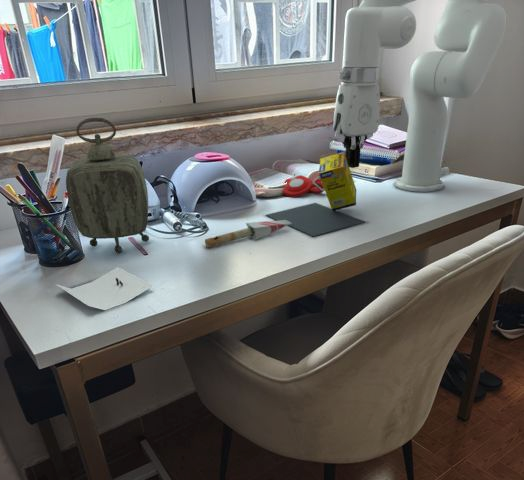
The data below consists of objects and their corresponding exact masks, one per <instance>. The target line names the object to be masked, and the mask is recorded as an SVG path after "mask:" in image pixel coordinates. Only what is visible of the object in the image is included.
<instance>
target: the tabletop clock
mask: <svg viewBox="0 0 524 480" xmlns="http://www.w3.org/2000/svg"><path fill="white" fill-rule="evenodd" d="M97 122H98V123H104V124H107V125H108V126H110V127H111V128H112V130H113V132H112V133H111V135H109V136H107V137H101V135H100V134H98V133H95V134H94V138H89V137H85V136H84V135H81V133H80V129H81V127H82V126H84V125H85V124H88V123H97ZM116 133H117V129H116V126H115V124H114V123H113V122H111V121H110V120H108V119H106V118H104V117H88V118H84V119H83V120H81V121H79V123H78V124H77V126H76V135H77V136H78V137H79V138H80V139H81V140H82V141H84V142H87V143H89V144H90V143H91V144H92V145H91V146H90V148H89V149H88V150H87V156H85V157H84V156H83V157H81V158H78V159H76V160H75V161H73V162H72V163H71V164H70V167H69V168H68V169H67V172H66V175H65V176H66V177H65V190H66V196H67V202H68V206H69V210H70V213H71V216H72V219H73V222H74V224H75V226H76V228H77V230H78V231H79V233H80V234H81V235H82V237H85V238H88V239H90V240H89V246H91V247H92V248H95V247H97V246H98V242H99V241H98V239H99V240H101V239H114V241H115V242H114V243H115V246H114V252H115V253H116V254H121V253H122V252H123V247H122V245H120V239H119V238H127V237H132V236H137V235H139V236H140V237H141V238H140V239H141V241H142V242H143V243H147V242H149V240H150V237H149V235H148V234H145V233H144V232H145V231H147V227H148V222H149V221H148V219H149V195H148V185H147V182H146V178H145V172H144V169H143V168H142V165H141V163H140V161H139V160H138V158H137V157H135V156H133V155H128V154H116V153H115V151H114V150H113V148H112V147H111V146H110V145H109V144H105V143H106V142H110V141H111V140H113V139H114V138H115V136H116Z"/></svg>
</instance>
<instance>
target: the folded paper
mask: <svg viewBox="0 0 524 480" xmlns="http://www.w3.org/2000/svg"><path fill="white" fill-rule="evenodd" d="M55 285H56V286H57V287H59V288H60V289H62V290H63V291H65V292H66V293H68V294H69V295H71V296H73V297H74V298H75V299H77V300H78V301H80V302H81V303H83V304H85V305H86V306H87V307H91V308H94V309H98V310H102V311H107V310H111V309H113V308H115V307H118V306H121V305H123V304H125V303H127V302H130V301H132V299H134V298H136V297H138V296H140V294H142V293H144V292H146V291H147V290H149V289H150V288H153V287H154V285H153V284H151V283H150V282H148V281H146V280H144V279H142V278H140V277H138V276H137V275H134V274H133V273H131V272H128V271H127V270H124V269H122V268H121V267H119V266H117V267H115V268H113V269H112V270H110V271H108V272H107V273H104V274H103V275H102V276H100V277H98V278H96V279H94V280H92V281H91V282H87V283H85V284H82V285H78V286H75V287H73V288H70V287H67V286H63V285H60V284H56V283H55Z"/></svg>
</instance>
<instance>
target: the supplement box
mask: <svg viewBox="0 0 524 480" xmlns="http://www.w3.org/2000/svg"><path fill="white" fill-rule="evenodd" d="M345 154H346V152H345V151H343V152H339V153H335V154H332V155H329V156H325V157H322V158H320V159H319V169H318V176H319V177H320V179H321V181H322V184H323V187H324V189H325V190H324V193H325V195H326V197H327V200H328V202H329V205H330V209H332V211H335V210H336V211H338V210H343V209H347V208H350V207H355V206H357V187H356V185H355V181H354V178H353V175H352V172H351V169H350V167H349V165H348V162H347V159H346V156H345ZM320 179H319V180H320Z"/></svg>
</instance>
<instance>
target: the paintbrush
mask: <svg viewBox="0 0 524 480" xmlns="http://www.w3.org/2000/svg"><path fill="white" fill-rule="evenodd" d="M290 224H292V223H291V222H289V221H287V220H278V221H276V220H266V221H254V222H245V225H246V228H243V229H238V230H234V231H231V232H227V233H223V234H220V235H216V236H214V237H209V238H205V239H204V244H205V246H206V248H209V249H210V248H211V247H215V246H217V245H218V246H219V245H224V244H226V243H231V242H234V241H237V240H241V239H244V238H245V239H246V238H250V239H252V240H253V241H257V240H259V239H261V238H263V237H266V236H268V235H270V234H272V233H274V232H276V231H279V230H281V229H283V228H286V227H289V226H288V225H290Z"/></svg>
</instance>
